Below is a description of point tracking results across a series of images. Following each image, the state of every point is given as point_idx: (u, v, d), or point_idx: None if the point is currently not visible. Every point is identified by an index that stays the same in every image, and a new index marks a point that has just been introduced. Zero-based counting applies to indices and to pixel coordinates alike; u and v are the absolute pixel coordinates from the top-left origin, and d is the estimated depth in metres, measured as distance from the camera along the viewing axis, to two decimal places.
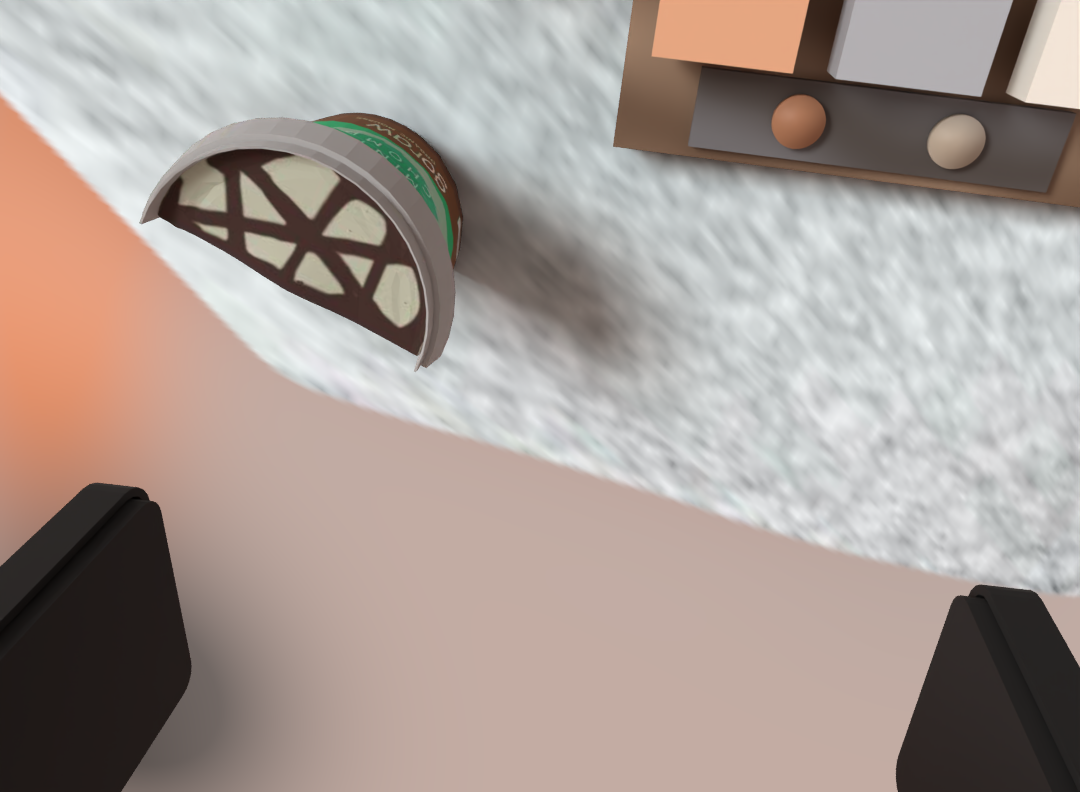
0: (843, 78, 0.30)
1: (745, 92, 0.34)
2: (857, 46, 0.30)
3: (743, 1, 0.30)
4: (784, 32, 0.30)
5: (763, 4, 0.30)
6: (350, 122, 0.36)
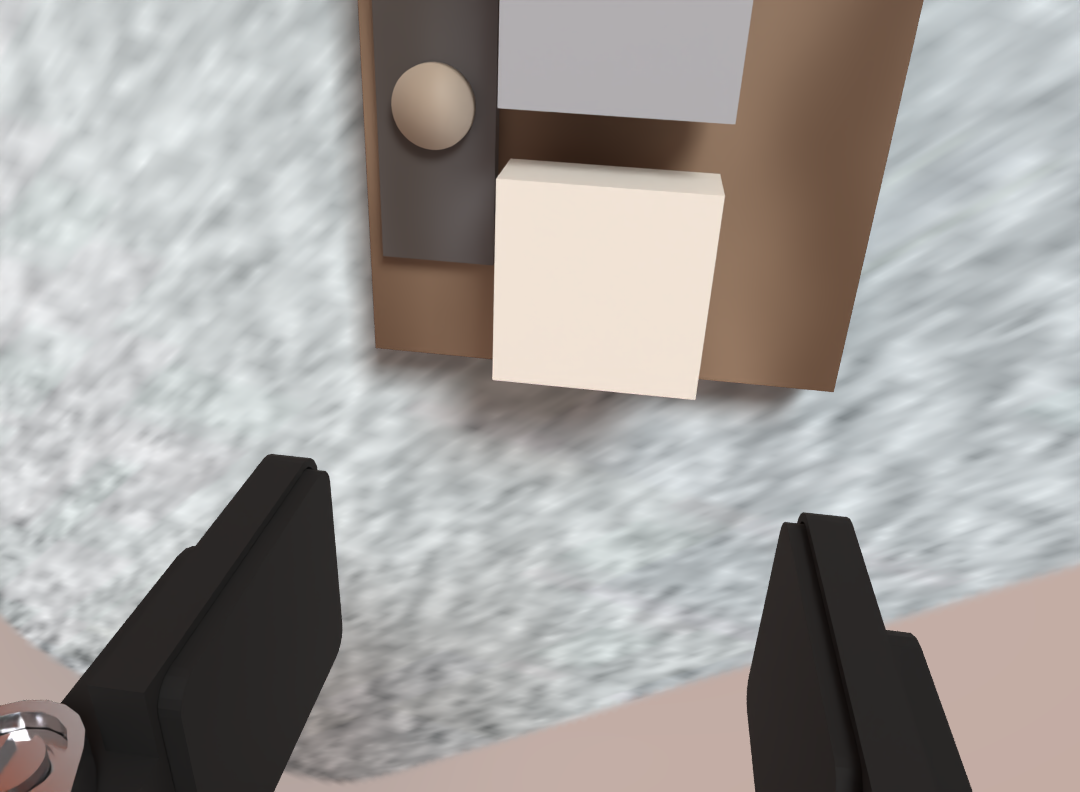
0: None
1: None
2: None
3: None
4: None
5: None
6: None
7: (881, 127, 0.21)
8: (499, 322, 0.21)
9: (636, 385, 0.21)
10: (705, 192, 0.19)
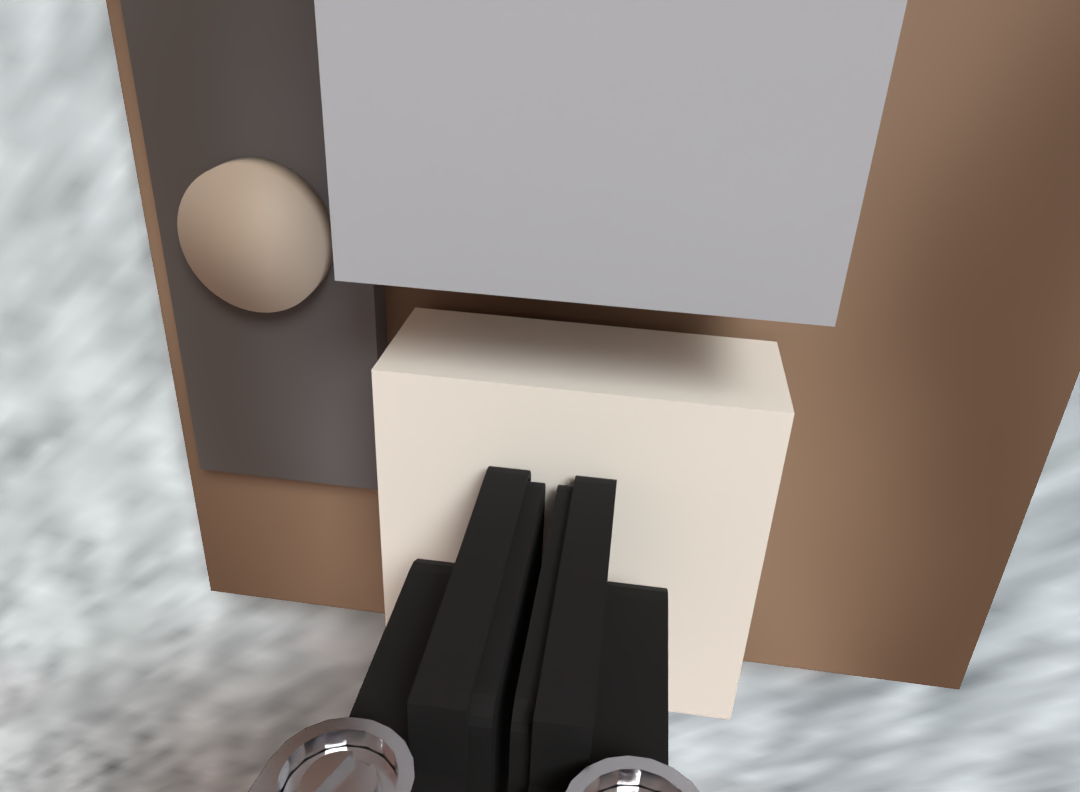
0: None
1: None
2: None
3: None
4: None
5: None
6: None
7: None
8: (393, 592, 0.12)
9: None
10: (758, 401, 0.10)
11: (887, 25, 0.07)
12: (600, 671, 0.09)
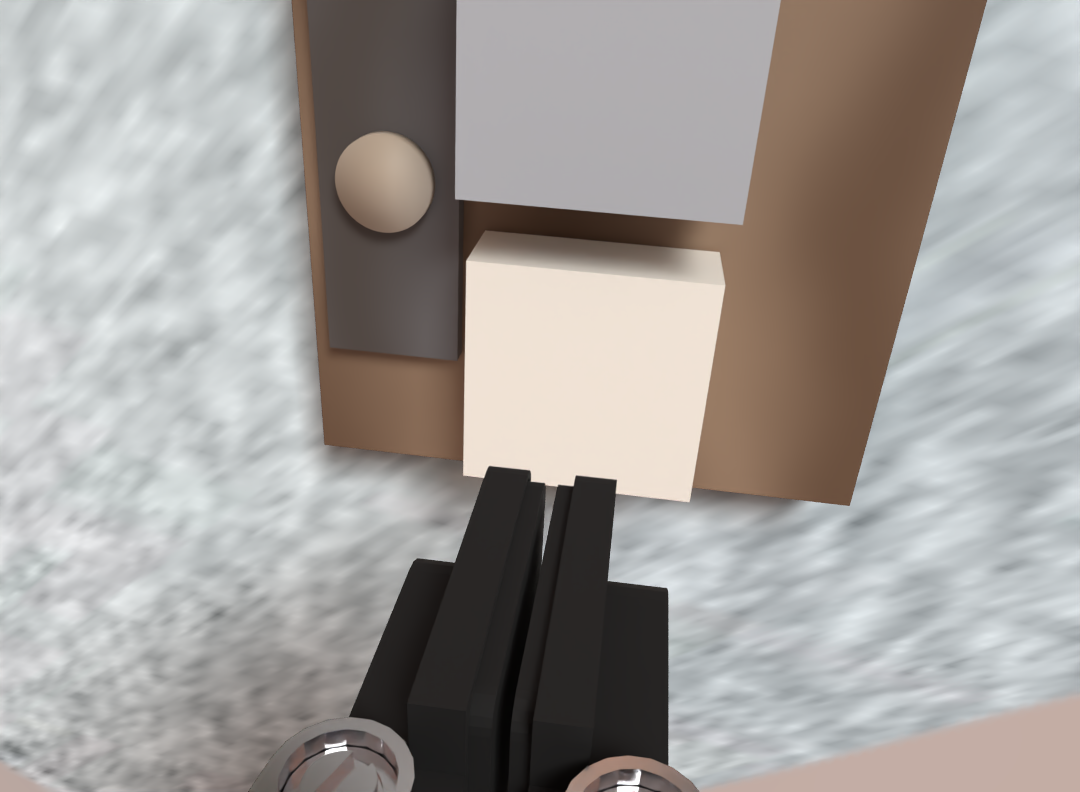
0: None
1: None
2: None
3: None
4: None
5: None
6: None
7: (913, 215, 0.17)
8: (470, 415, 0.18)
9: (623, 485, 0.19)
10: (704, 280, 0.17)
11: (763, 57, 0.14)
12: (600, 671, 0.09)
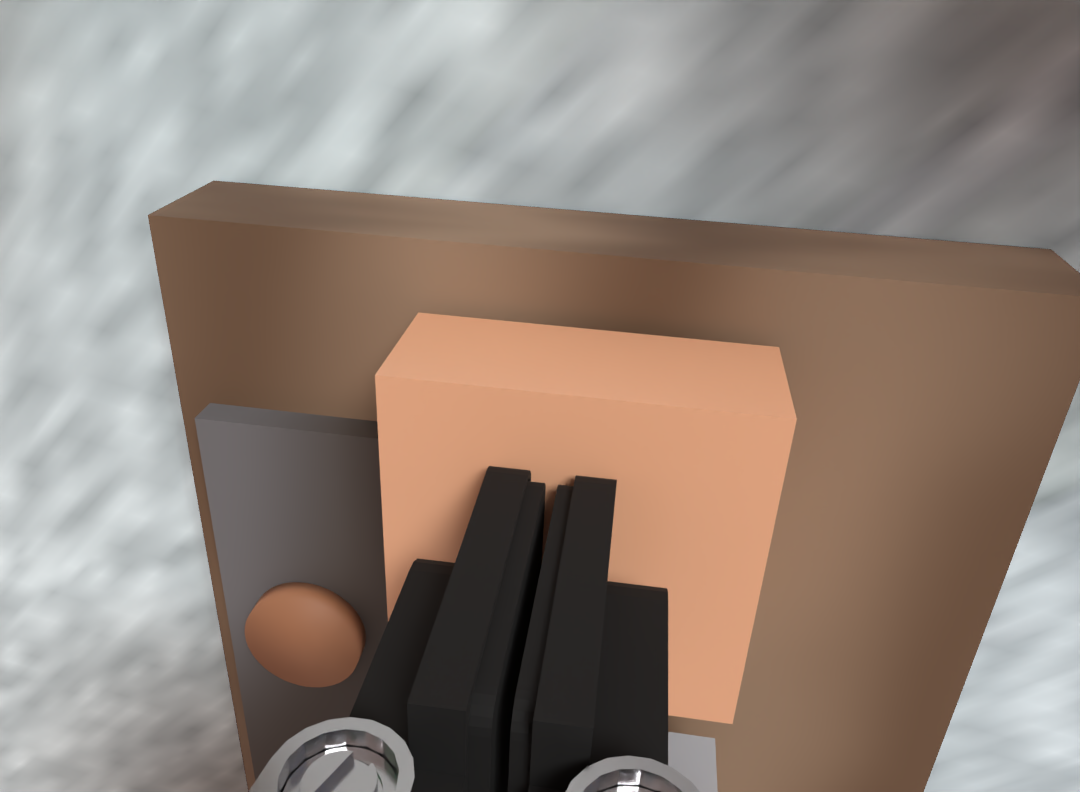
0: None
1: (345, 532, 0.14)
2: None
3: None
4: None
5: None
6: None
7: None
8: None
9: None
10: None
11: None
12: (600, 671, 0.09)
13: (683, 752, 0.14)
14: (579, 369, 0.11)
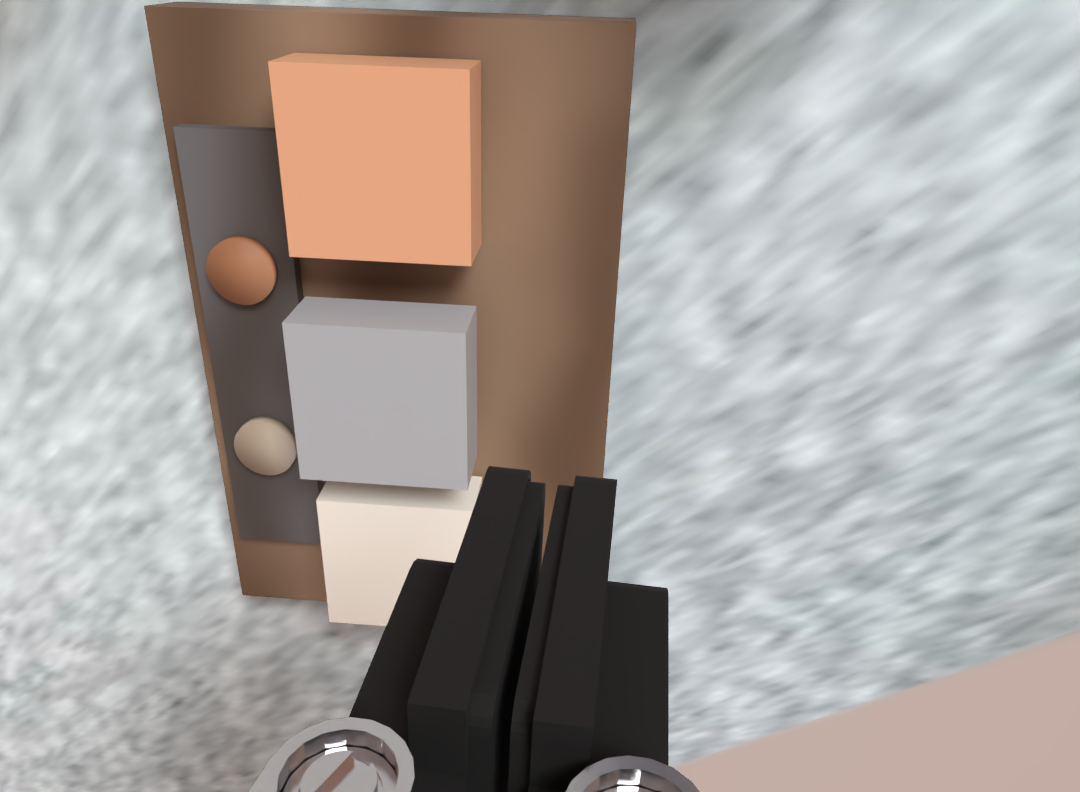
0: (284, 331, 0.23)
1: (261, 196, 0.25)
2: (324, 341, 0.23)
3: (359, 180, 0.22)
4: (334, 238, 0.23)
5: (361, 207, 0.23)
6: None
7: (595, 453, 0.28)
8: (329, 586, 0.29)
9: None
10: (461, 507, 0.27)
11: (462, 409, 0.24)
12: (600, 671, 0.09)
13: (457, 309, 0.25)
14: (371, 61, 0.22)
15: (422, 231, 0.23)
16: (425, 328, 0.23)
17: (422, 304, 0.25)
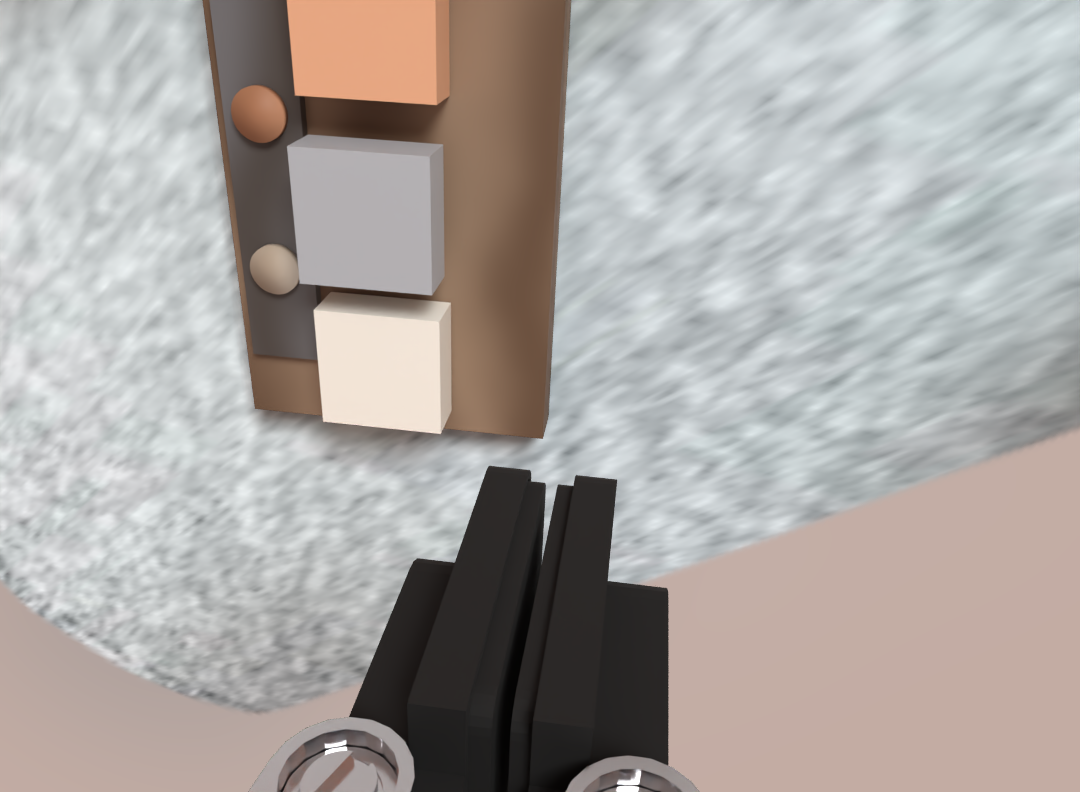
0: (289, 153, 0.30)
1: (276, 51, 0.31)
2: (319, 162, 0.30)
3: (350, 31, 0.29)
4: (329, 79, 0.30)
5: (350, 53, 0.29)
6: None
7: (543, 284, 0.34)
8: (323, 388, 0.35)
9: (406, 425, 0.36)
10: (430, 319, 0.33)
11: (427, 223, 0.30)
12: (600, 671, 0.09)
13: (426, 145, 0.31)
14: None
15: (398, 74, 0.29)
16: (398, 153, 0.29)
17: (400, 142, 0.31)
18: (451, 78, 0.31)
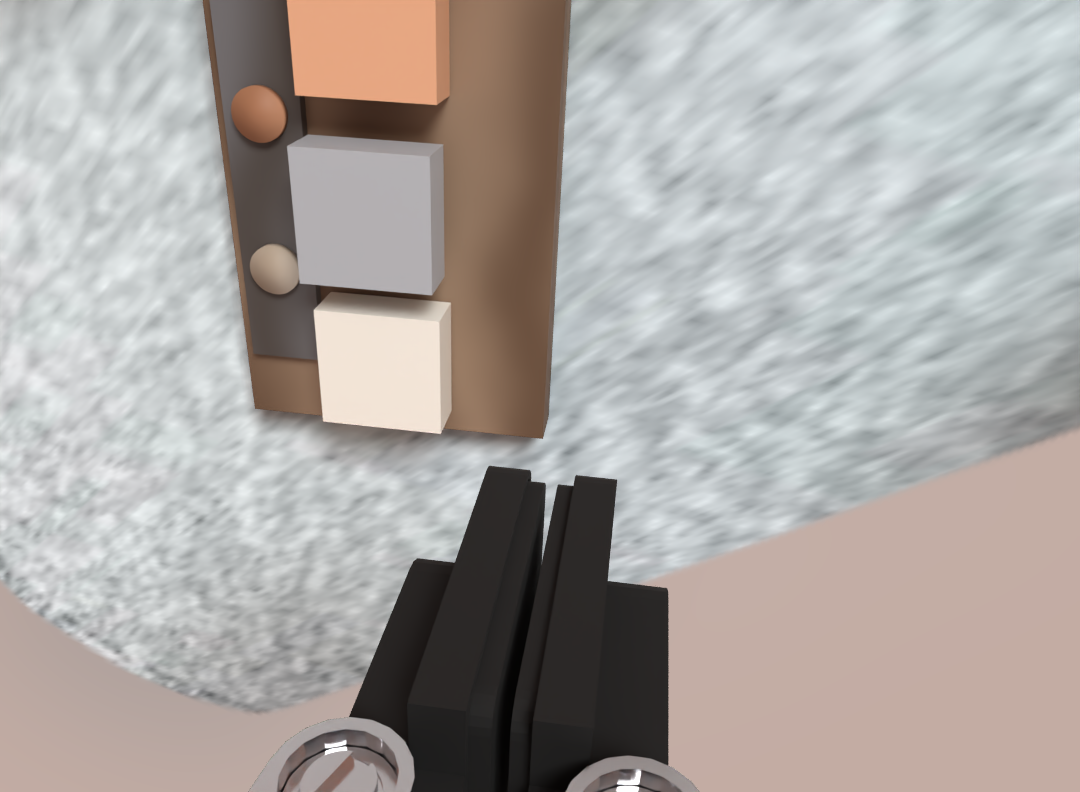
0: (289, 153, 0.30)
1: (276, 51, 0.31)
2: (319, 162, 0.30)
3: (350, 31, 0.29)
4: (329, 79, 0.30)
5: (350, 53, 0.29)
6: None
7: (543, 284, 0.34)
8: (323, 388, 0.35)
9: (406, 425, 0.36)
10: (430, 319, 0.33)
11: (427, 223, 0.30)
12: (600, 671, 0.09)
13: (426, 145, 0.31)
14: None
15: (398, 74, 0.29)
16: (398, 153, 0.29)
17: (400, 142, 0.31)
18: (451, 78, 0.31)
